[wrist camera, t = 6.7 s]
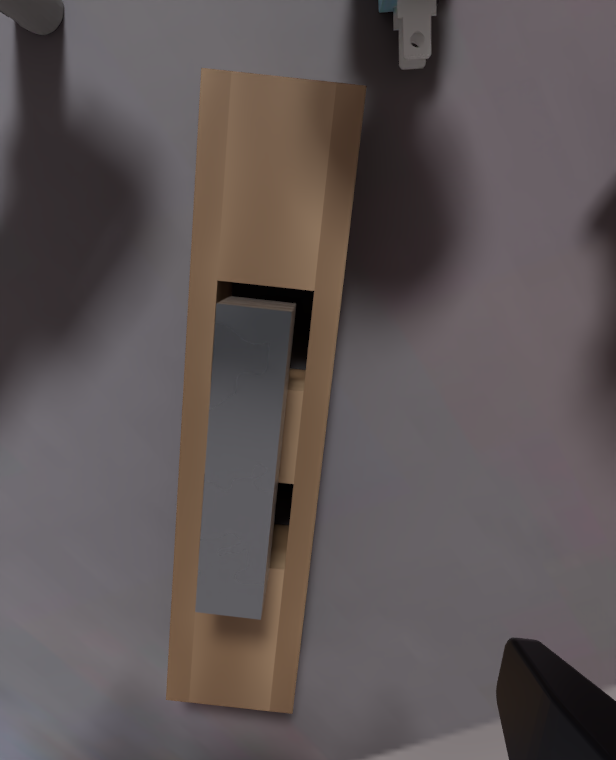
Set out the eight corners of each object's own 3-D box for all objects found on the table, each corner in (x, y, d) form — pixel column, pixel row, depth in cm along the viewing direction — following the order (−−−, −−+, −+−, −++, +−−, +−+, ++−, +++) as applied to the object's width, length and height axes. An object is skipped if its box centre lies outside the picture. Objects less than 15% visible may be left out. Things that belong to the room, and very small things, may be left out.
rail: (359, 111, 18) (366, 85, 15) (296, 653, 23) (292, 713, 20) (221, 96, 18) (201, 68, 15) (186, 641, 23) (165, 699, 20)
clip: (302, 291, 19) (291, 311, 14) (279, 516, 21) (261, 619, 15) (250, 285, 19) (216, 303, 14) (231, 511, 21) (195, 611, 15)
